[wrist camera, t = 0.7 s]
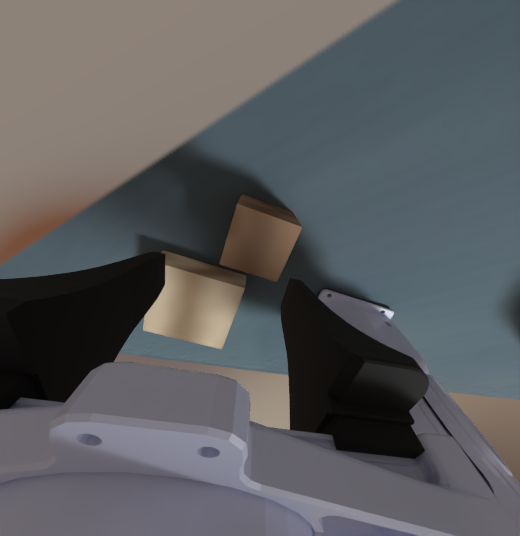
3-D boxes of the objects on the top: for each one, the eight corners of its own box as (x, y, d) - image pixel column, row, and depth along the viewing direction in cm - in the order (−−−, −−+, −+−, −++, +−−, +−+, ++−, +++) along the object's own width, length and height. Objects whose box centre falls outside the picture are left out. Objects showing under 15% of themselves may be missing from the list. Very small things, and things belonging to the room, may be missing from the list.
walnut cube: (292, 212, 20) (302, 227, 15) (273, 257, 22) (277, 282, 17) (242, 193, 19) (237, 203, 14) (227, 242, 21) (219, 264, 16)
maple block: (246, 273, 23) (245, 288, 20) (225, 330, 27) (221, 349, 24) (164, 248, 22) (151, 260, 19) (155, 312, 25) (142, 330, 23)
